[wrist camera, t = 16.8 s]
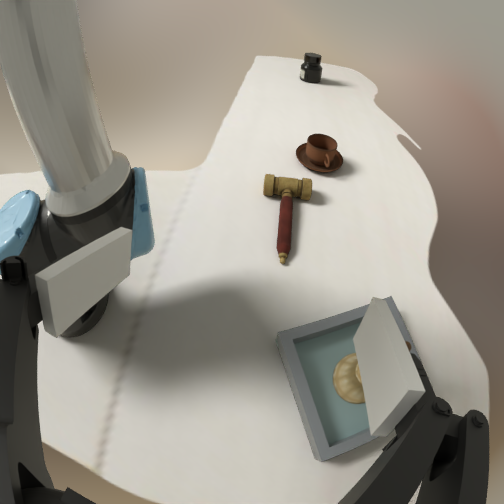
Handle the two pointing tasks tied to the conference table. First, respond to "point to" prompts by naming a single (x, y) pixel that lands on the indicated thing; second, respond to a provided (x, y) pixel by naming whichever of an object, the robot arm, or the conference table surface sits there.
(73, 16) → the robot arm
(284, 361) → the box
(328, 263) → the conference table surface
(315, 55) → the ink bottle
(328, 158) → the cup and saucer
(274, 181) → the gavel
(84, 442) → the conference table surface
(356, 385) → the hand bell
